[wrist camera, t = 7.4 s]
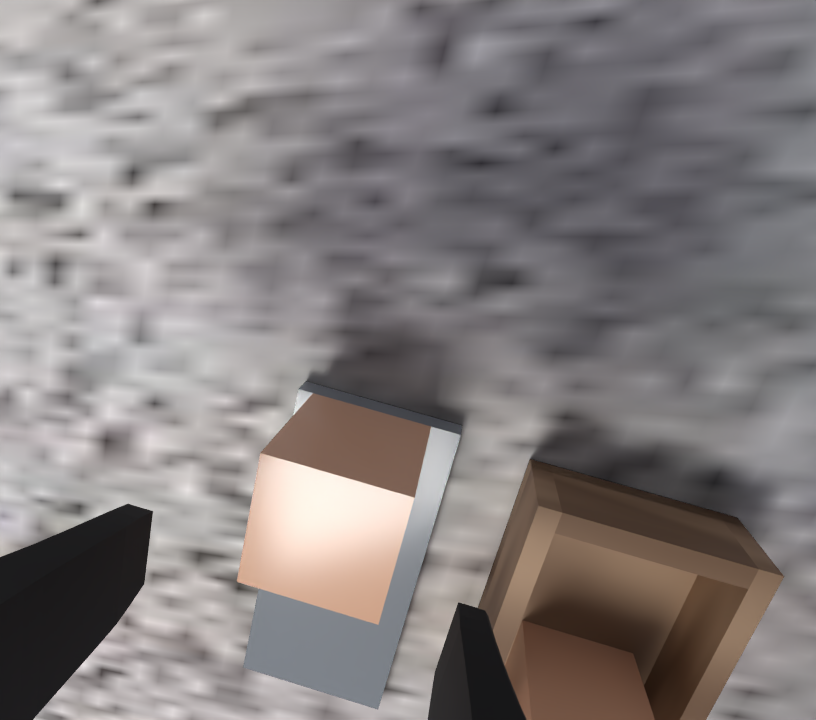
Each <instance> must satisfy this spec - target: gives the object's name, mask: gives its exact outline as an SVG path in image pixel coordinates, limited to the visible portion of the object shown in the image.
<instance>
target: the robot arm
mask: <svg viewBox="0 0 816 720" xmlns="http://www.w3.org/2000/svg"><path fill="white" fill-rule="evenodd" d="M152 514H153V511H150V510H147V509H143V508H140V507H137V506H133V505H130V504H126V505H124V506H121V507H119V508H116V509H114V510H112V511H109V512H107V513H105V514H102V515H100V516H98V517H96V518H93V519H91V520H89V521H87V522H84V523H82V524H80V525H78V526H75V527H73V528H71V529H68V530H66V531H64V532H61V533H59V534H57V535H54V536H52V537H50V538H47V539H45V540H43V541H40V542H38V543H36V544H33V545H31V546H28V547H25V548H23V549H20V550H18V551H15V552H13V553H10V554H7V555H5V556H2V557H0V720H33V719H34V718H35V716H36V715H37V714H38V713H39V712H40V711H41V710H42V708H43V707H44V706H45V705H46V704H47V703H48V702H49V701H50V699H51V698H52V697H53V696H54V695H55V694H56V693H57V691H58V690H59V689H60V688H61V687H62V686H63V685H64V684H65V682H66V681H67V680H68V679H69V678H70V677H71V676H72V674H73V673H74V672H75V671H76V670H77V669H78V668H79V667H80V665H81V664H82V663H83V662H84V661H85V660H86V659H87V658H88V656H89V655H90V654H91V653H92V652H93V651H94V649H95V648H96V647H97V646H98V645H99V644H100V643H101V641H102V640H103V639H104V638H105V637H106V636H107V635H108V633H109V632H110V631H111V630H112V629H113V627H114V626H115V625H116V624H117V622H118V621H119V620H120V618H121V617H122V615H123V614H124V613H125V611H126V610H127V608H128V607H129V606H130V604H131V603H132V601H133V600H134V598H135V597H136V595H137V594H138V592H139V591H140V589H141V588H142V586H143V585H144V581H145V573H146V564H147V556H148V547H149V539H150V531H151V522H152ZM428 720H527V719H526V717H525V715H524V713H523V710H522V708H521V706H520V703H519V701H518V698H517V696H516V693H515V691H514V688H513V686H512V684H511V681H510V679H509V676H508V673H507V671H506V668H505V665H504V663H503V660H502V657H501V654H500V651H499V648H498V645H497V642H496V639H495V636H494V633H493V630H492V627H491V623H490V620H489V616H488V615H487V613H486V611H485V610H482V609H479V608H475V607H472V606H469V605H465V604H462V603H459V602H458V605H457V608H456V611H455V614H454V617H453V620H452V623H451V626H450V629H449V632H448V635H447V638H446V641H445V644H444V647H443V650H442V653H441V656H440V659H439V662H438V665H437V668H436V671H435V675H434V681H433V688H432V695H431V701H430V708H429V715H428Z"/></svg>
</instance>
